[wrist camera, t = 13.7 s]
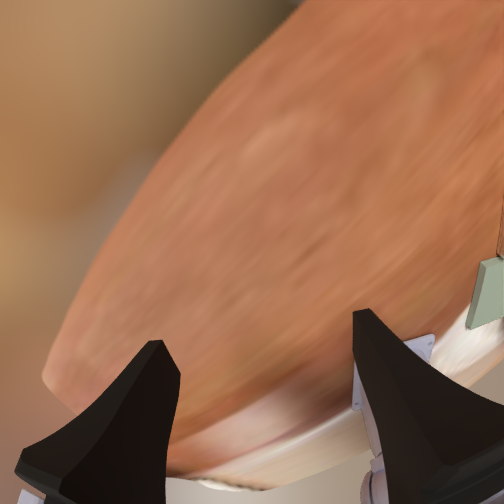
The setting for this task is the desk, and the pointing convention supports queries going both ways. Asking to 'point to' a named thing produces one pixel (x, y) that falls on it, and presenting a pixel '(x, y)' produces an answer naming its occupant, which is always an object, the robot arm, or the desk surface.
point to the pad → (487, 294)
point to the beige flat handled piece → (501, 236)
